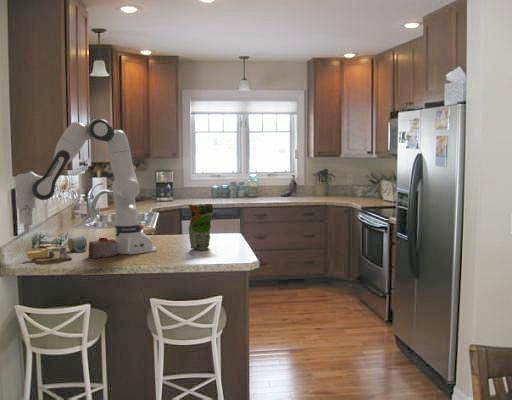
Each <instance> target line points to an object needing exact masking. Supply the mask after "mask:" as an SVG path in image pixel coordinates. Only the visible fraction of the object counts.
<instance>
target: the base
mask: <svg viewBox="0 0 512 400" xmlns="http://www.w3.org/2000/svg"><path fill="white" fill-rule="evenodd" d="M55 252H59V253H55ZM32 259H33V261H34V262H35V263H36V264H37V265H38V264H46V263H48V264H49V263H56V262H57V263H58V262H67V261H72V257H71V256H70V255H69V254H68V253H67V247H66V246H54V248H48V257H42V258H32Z"/></svg>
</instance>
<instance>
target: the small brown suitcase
mask: <svg viewBox="0 0 512 400" xmlns="http://www.w3.org/2000/svg"><path fill="white" fill-rule="evenodd" d="M118 254H119V253H118V243H117V242H116V239H113V238H111V239H108V237H99V238H98V240H90V241H89V242H88V257H89V258H90V259H92V260H94V259H101V258H103V259H105V258H110V257H115V256H116V255H118Z"/></svg>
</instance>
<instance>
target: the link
mask: <svg viewBox="0 0 512 400" xmlns="http://www.w3.org/2000/svg"><path fill="white" fill-rule="evenodd" d="M54 247H55V246H47V247H46V248H42V249H41V250H33V251H26V256H27V257H26V258H27V259H28V260H29V259H33V258H42V257H48V255H49V252H48V248H54Z"/></svg>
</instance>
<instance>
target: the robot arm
mask: <svg viewBox="0 0 512 400" xmlns="http://www.w3.org/2000/svg"><path fill="white" fill-rule="evenodd" d="M88 140H92V141H97V142H104V143H105V144H106V147H107V151H108V158H109V164H110V170H111V171H112V175H113V178H114V181H113V183H112V185H111V187H112V195H113V203H114V208H115V209H114V210H115V225H114V234H115V241H116V242H117V243H118V253H117V254H120V255H123V254H125V255H137V254H143V253H150V252H156V251H158V248H157V247H156V246H155V245H153V240H152V239H151V237H150V236H148V235H147V234H146V233H144V232H143V231H142V230H144V229H145V227H144V225H140V224H138V209H137V208H138V207H137V205H136V199H135V198H137V196H138V195H140V192H141V187H140V184H139V182H138V181H139V180H138V178H137V174H136V172H135V169H134V164H133V159H132V154H131V148H130V143H129V140H128V137H127V134H126V133H125V132H124V131H123V130H121V129H114V128H113V126H111V124H110V123H109V122H108V121H107V120H106V119H103V118H95V119H92V120H91V121H90V122H88V123H83V122H79V121H74V122H71V123H70V124H69V125H68V126H67V127H66V129H65V131H64V132H63V133H62V134H61V136H60V138H59V139H58V141H57V144H56V146H55V150H54V156H53V158H52V161H51V163H50V165H49V166H48V168H47V170H46V171H45V173H44V174H43V175H42V176H41V175H39V174H36V173H35V172H33V171H32V170H28V171H23V172H19V173H18V174H17V175H16V176H15V182H14V185H15V189H14V190H15V193H16V195H15V209H17V210H18V214H19V215H18V216H19V220H20V222H22V224H23V230H24V233H30V230H29V229H30V226H33V210H34V208H36V199H38V200H40V201H46V200H49V199H51V198H52V197H53V196H54V194H55V189H56V183H57V181H58V179H59V177H60V176H61V174H62V173H63V171H64V169H65V168H66V167H67V165H69V164H70V162H72V161H73V159H75V158H76V157H77V155H78V154H79V153H80V151H81V149H82V148H83V146H84V144H85V143H86V142H87V141H88Z"/></svg>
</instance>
